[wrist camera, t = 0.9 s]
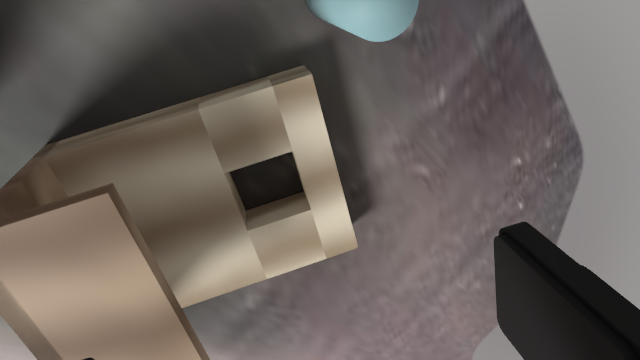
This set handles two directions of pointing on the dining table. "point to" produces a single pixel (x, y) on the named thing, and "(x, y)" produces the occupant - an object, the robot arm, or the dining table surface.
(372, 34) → the peg
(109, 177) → the socket block
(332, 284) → the dining table surface
